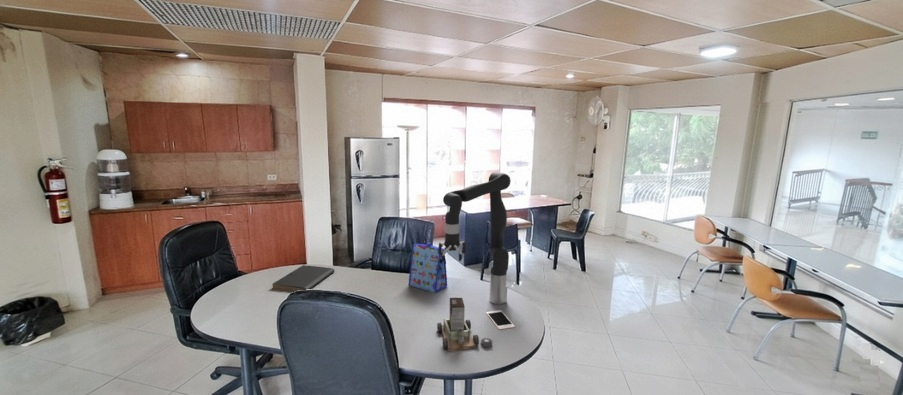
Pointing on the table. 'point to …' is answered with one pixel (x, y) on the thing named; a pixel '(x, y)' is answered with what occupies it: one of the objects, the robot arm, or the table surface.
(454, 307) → the coffee box
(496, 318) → the cell phone
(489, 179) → the robot arm
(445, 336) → the chassis
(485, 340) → the loose wheel
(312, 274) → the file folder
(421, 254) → the lunch bag
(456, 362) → the table surface
